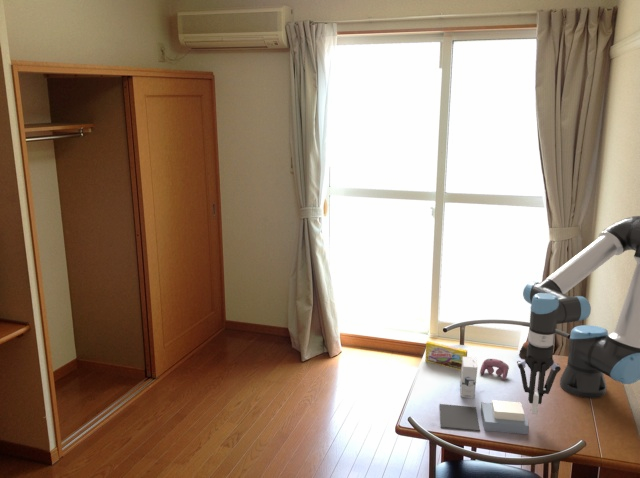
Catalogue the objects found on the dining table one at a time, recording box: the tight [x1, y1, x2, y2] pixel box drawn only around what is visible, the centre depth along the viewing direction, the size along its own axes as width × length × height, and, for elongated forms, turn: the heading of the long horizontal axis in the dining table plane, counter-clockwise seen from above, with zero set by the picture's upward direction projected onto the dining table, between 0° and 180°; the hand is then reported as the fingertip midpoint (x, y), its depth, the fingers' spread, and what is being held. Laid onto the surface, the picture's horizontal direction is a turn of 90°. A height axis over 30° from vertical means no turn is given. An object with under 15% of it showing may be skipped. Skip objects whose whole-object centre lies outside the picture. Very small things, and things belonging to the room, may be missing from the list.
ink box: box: [459, 356, 478, 399], centre depth 203 cm, size 9×5×12 cm, turn 168°
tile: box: [491, 399, 525, 421], centre depth 184 cm, size 9×7×2 cm
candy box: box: [424, 340, 468, 371], centre depth 223 cm, size 16×2×8 cm, turn 58°
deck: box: [480, 401, 529, 435], centre depth 185 cm, size 13×12×3 cm
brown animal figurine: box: [518, 340, 529, 360], centre depth 230 cm, size 12×9×8 cm
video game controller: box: [479, 358, 510, 381], centre depth 216 cm, size 10×5×7 cm, turn 58°
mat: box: [439, 403, 481, 433], centre depth 187 cm, size 12×14×1 cm
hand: (533, 412), depth 182 cm, fingers closed
